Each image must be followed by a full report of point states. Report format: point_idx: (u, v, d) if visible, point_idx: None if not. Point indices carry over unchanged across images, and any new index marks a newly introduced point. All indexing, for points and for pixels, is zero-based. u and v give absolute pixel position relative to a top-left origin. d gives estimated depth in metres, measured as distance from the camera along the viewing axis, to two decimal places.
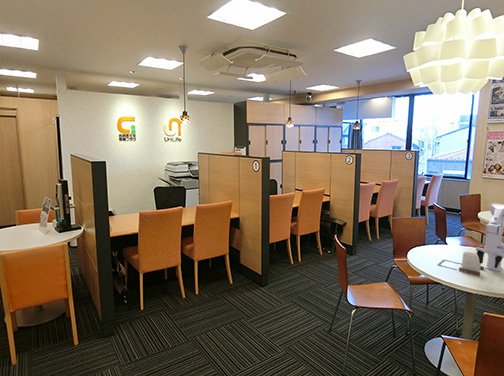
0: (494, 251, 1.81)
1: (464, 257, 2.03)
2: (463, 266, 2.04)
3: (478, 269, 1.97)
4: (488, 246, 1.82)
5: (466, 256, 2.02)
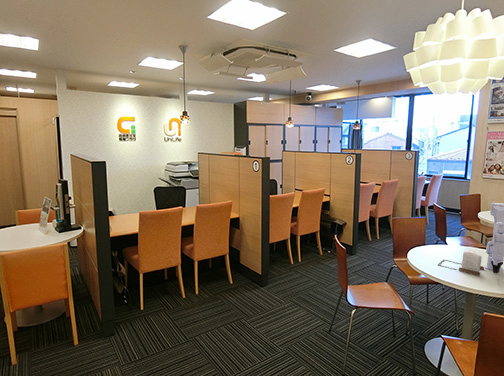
0: (494, 258, 1.90)
1: (464, 257, 2.03)
2: (463, 266, 2.04)
3: (478, 269, 1.97)
4: None
5: (466, 256, 2.02)
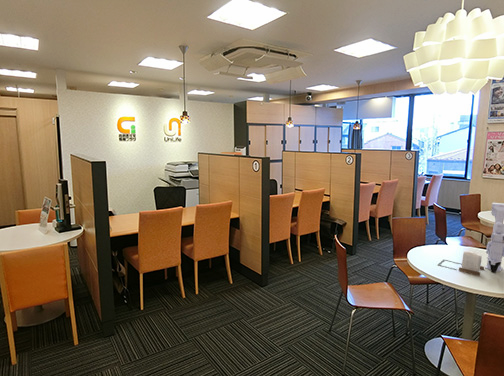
0: (492, 258, 1.91)
1: (464, 257, 2.03)
2: (463, 266, 2.04)
3: (478, 269, 1.97)
4: None
5: (466, 256, 2.02)
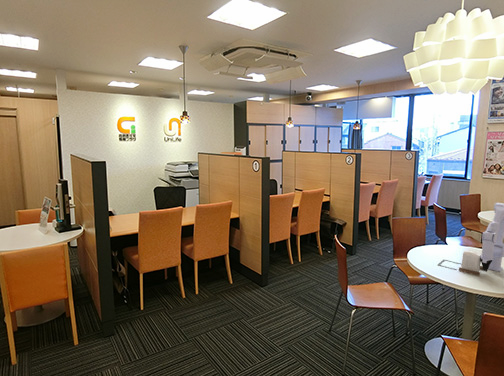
0: (483, 256, 1.94)
1: (464, 257, 2.03)
2: (463, 266, 2.04)
3: (478, 269, 1.97)
4: None
5: (466, 256, 2.02)
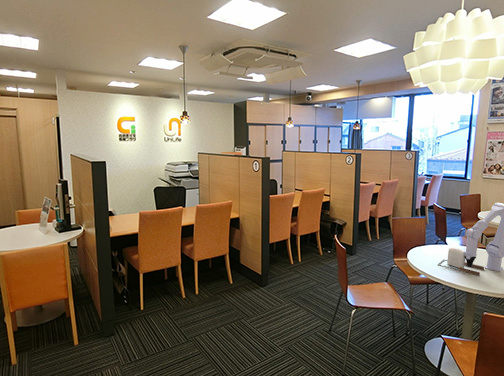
0: (467, 253, 2.00)
1: (449, 254, 2.09)
2: (448, 262, 2.10)
3: (462, 265, 2.03)
4: None
5: (451, 253, 2.08)
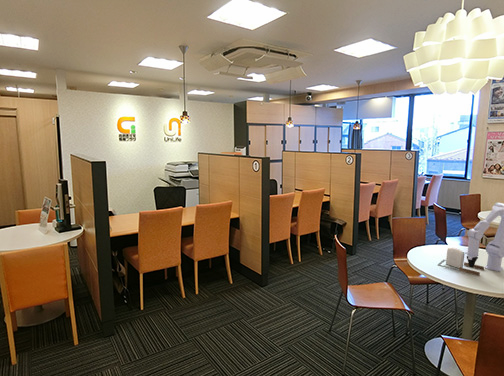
0: (469, 253, 2.00)
1: (448, 253, 2.09)
2: (447, 262, 2.10)
3: (461, 265, 2.04)
4: None
5: (450, 253, 2.08)
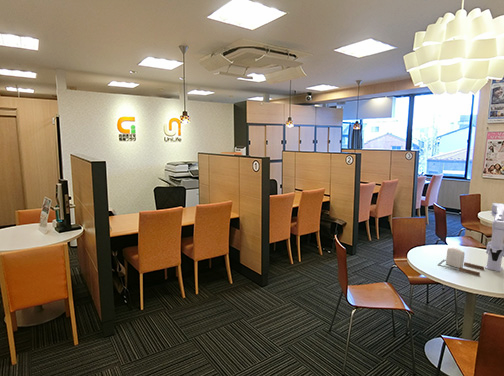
0: (493, 246, 1.88)
1: (448, 253, 2.09)
2: (447, 262, 2.10)
3: (461, 265, 2.04)
4: None
5: (450, 253, 2.08)
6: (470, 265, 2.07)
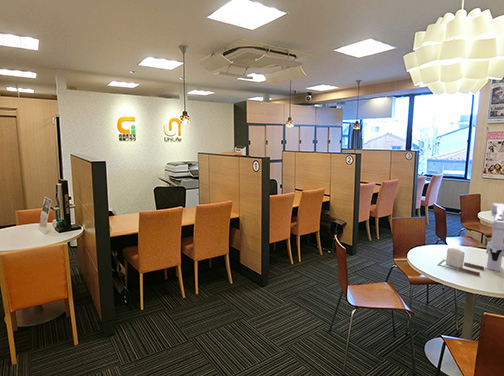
0: (493, 246, 1.88)
1: (448, 253, 2.09)
2: (447, 262, 2.10)
3: (461, 265, 2.04)
4: None
5: (450, 253, 2.08)
6: (470, 265, 2.07)
